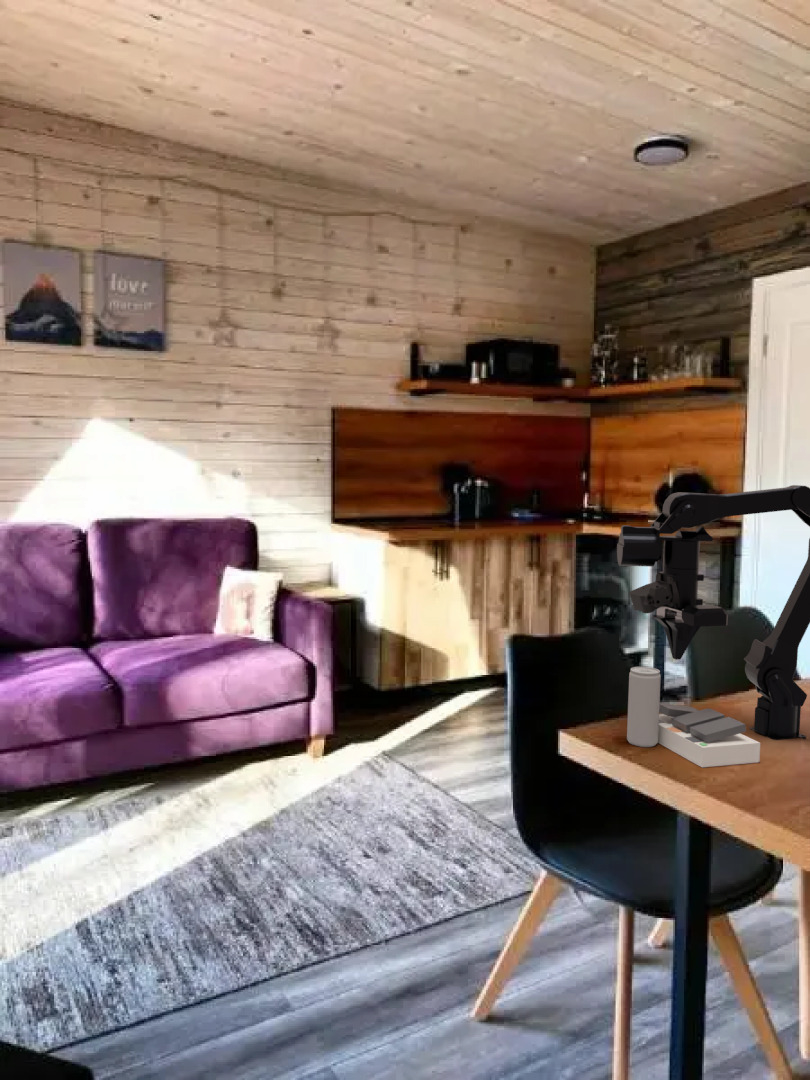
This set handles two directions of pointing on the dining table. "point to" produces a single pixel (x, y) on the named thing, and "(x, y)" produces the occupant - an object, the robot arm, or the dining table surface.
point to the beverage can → (643, 706)
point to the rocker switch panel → (707, 746)
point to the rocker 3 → (717, 729)
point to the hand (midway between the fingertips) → (676, 659)
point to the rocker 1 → (675, 709)
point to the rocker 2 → (696, 719)
